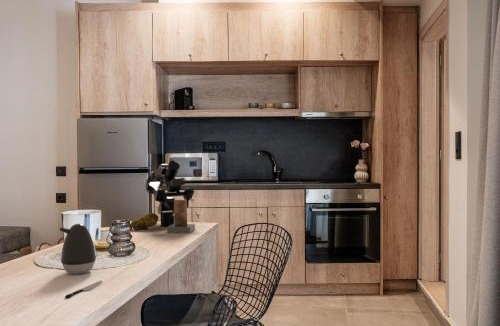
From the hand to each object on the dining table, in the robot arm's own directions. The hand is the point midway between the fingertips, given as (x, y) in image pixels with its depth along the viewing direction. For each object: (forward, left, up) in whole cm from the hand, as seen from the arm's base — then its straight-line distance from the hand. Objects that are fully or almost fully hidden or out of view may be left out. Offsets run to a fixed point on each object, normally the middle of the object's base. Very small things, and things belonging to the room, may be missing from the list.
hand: (178, 207), depth 232 cm
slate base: (+1, -2, -11) cm, 11 cm away
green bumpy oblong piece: (-18, +3, -11) cm, 21 cm away
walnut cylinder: (+1, -2, -8) cm, 9 cm away
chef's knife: (-1, -101, -11) cm, 102 cm away
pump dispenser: (-13, -83, -11) cm, 85 cm away
